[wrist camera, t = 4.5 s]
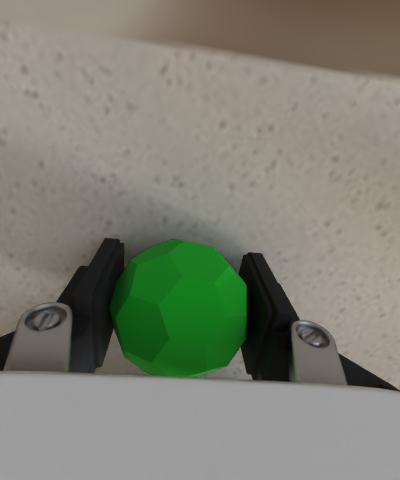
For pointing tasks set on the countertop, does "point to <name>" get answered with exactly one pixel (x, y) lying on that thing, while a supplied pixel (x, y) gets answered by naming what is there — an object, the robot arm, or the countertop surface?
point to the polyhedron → (179, 310)
